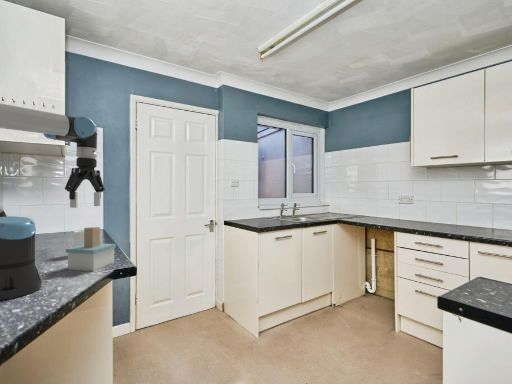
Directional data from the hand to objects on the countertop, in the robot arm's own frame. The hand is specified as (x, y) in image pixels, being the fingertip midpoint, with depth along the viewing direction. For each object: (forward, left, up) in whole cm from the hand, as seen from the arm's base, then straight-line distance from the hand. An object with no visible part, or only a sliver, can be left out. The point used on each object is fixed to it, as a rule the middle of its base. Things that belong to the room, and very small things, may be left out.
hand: (86, 206), depth 121 cm
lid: (-2, -5, -19) cm, 20 cm away
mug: (+15, +17, -25) cm, 34 cm away
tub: (-2, -5, -25) cm, 26 cm away
